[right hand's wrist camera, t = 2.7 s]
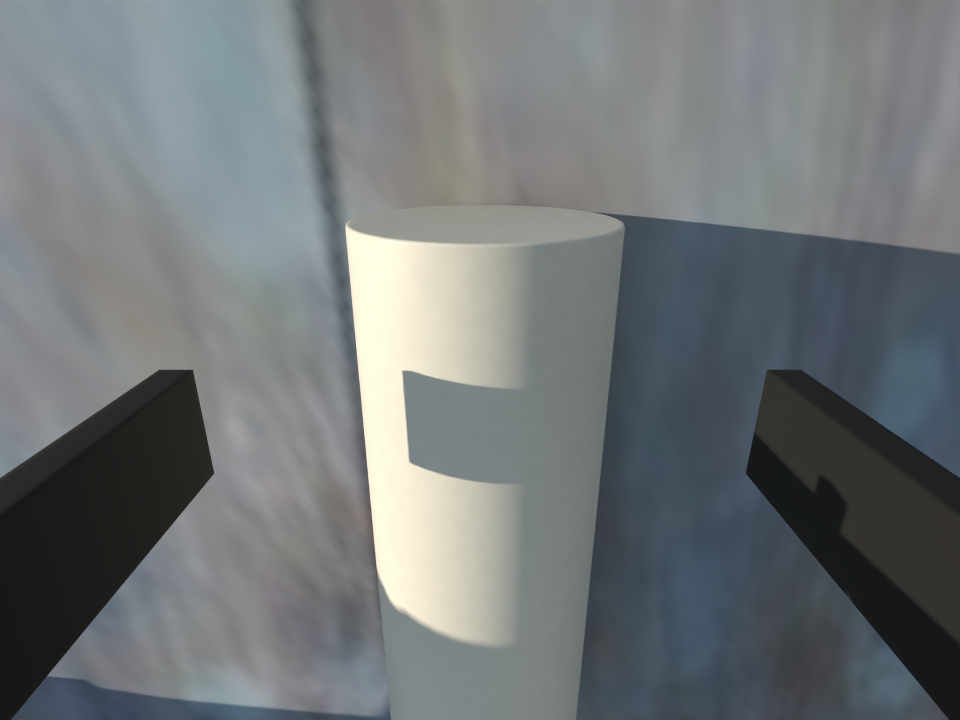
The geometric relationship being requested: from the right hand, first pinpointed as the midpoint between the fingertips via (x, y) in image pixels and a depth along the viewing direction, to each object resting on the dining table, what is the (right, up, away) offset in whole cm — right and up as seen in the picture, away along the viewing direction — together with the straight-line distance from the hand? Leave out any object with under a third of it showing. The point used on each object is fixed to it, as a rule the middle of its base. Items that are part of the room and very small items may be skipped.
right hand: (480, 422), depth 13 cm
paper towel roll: (0, -5, +12) cm, 13 cm away
